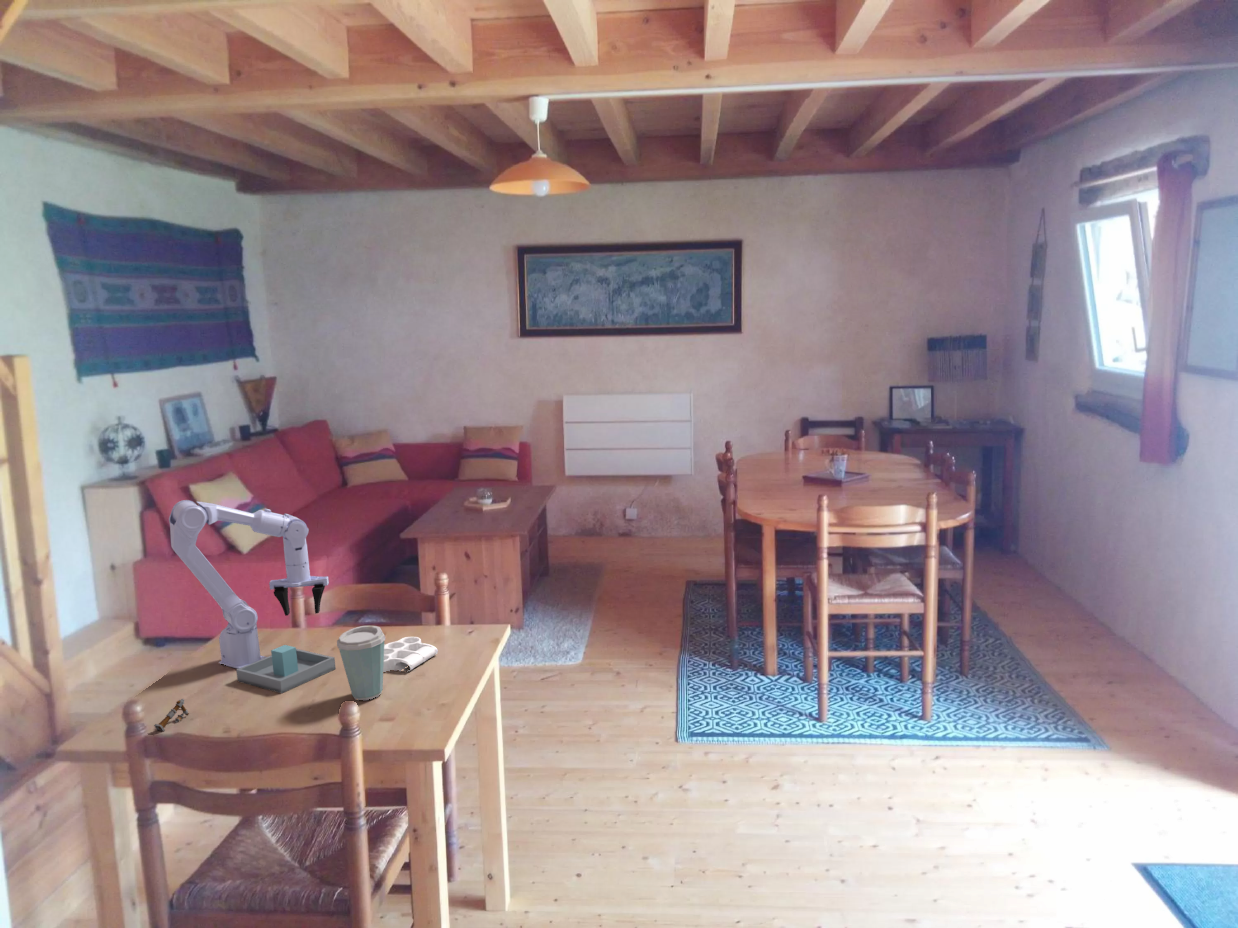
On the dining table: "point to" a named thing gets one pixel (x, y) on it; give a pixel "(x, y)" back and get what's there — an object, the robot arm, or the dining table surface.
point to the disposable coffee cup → (363, 660)
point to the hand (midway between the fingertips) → (302, 613)
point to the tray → (307, 670)
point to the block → (284, 660)
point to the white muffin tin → (406, 653)
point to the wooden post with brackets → (171, 713)
